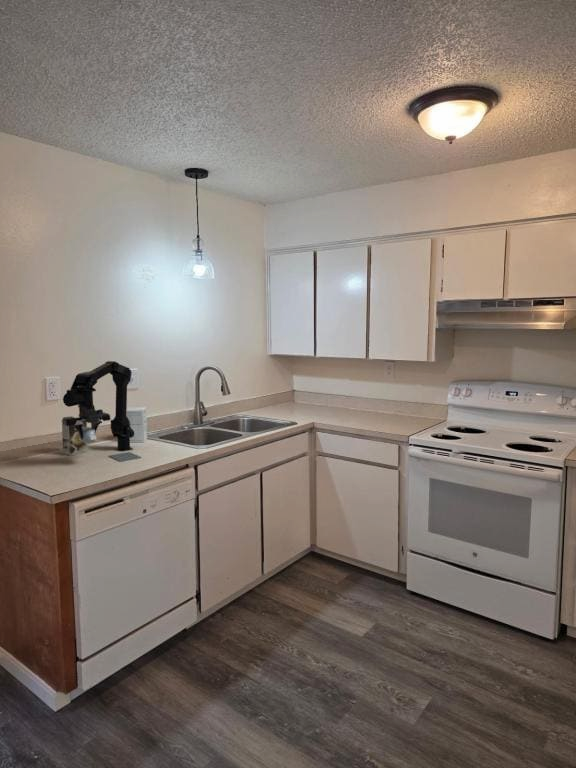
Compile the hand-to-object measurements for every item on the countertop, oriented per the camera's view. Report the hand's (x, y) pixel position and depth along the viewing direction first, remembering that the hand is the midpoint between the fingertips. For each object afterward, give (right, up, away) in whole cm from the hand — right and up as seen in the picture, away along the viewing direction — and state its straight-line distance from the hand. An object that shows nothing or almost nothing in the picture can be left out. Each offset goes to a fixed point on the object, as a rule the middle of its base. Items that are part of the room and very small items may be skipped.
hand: (87, 438), depth 218 cm
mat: (+13, -10, +10) cm, 19 cm away
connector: (+1, -1, -1) cm, 1 cm away
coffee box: (-12, -9, +17) cm, 23 cm away
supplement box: (+8, -6, +43) cm, 44 cm away
